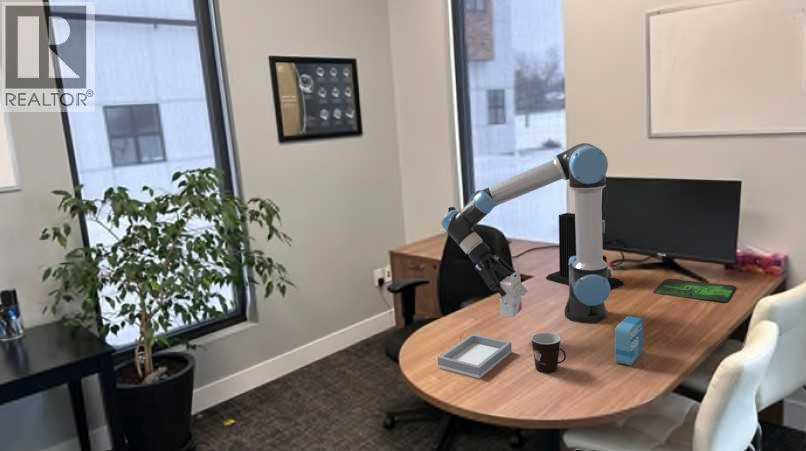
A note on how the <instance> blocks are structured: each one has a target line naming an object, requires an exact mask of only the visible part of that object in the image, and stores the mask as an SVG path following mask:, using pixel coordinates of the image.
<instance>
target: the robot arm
mask: <svg viewBox="0 0 806 451" xmlns="http://www.w3.org/2000/svg"><path fill="white" fill-rule="evenodd" d="M608 167H609V161H608V158H607V156H606V154H605V152H603V150H602V149H600V148H599V147H597V146H595V145H593V144H591V143H586V142H584V143H578V144H576V145H575V146H572V147H571V148H568V149H567V150H565V151H562V152H560V153H558V154H556V155H555V156H554V157H553V158H552V159H551V160H549V161H547V162H545V163H543V164H542V163H541V164H540V165H537V166H536V167H535V166H534V167H533V168H531V169H528V170H526V171H524V172H521V173H519V174H516V175H514V176H512V177H509V178H507V179H504V180H503V181H500V182H498V183H496V184H493V185H491V186H488V187H486V188H484V189H479V190H476V191H474V192H473V193H472V194H471V195H470V197H469V200H468V202H467V203H466V204H465V205H464V206H463V208H461V209H460V210H459V211H457V209H456V210H455V209H452V210H450V211H449V212H448V213H446V214H445V215H444V216H443V217H442V219H441V222H440V224H441V226H442V228H444V230H445V231H446V233H447V234H448V235H449V236H450V237H451V238H452V240H453V241H455V243H456V245H458V246H459V247H460V249H462V251H463V253H465V255H468V258H469V259H470V260H471V262H472V263H474V264H476V265H475V267H474V269H475V271H477V273H478V274H479V275H480V276H481V278H482V279H483V282H484V283H485V284H486V286H487V287H488V290H490V291H492V292H497V293H498V295H499V294H500V295H501V296H502V297H503V298H504V299H505V300H506V301H507V303H508V304H509V305H511V304H512V303H513V302H514V301H515V298H514V297H513V296H512V295H511V294H510V293H509V292H508V290H507V289H506V288H505V287H504V286H503V285H500V281H499V278H498V277H497V275H496V273H495V271H496V272H498V273H499V274H500V275H502V276H503V277H505V278H506V277H508V276H509V277H510V276H511V275H512V274H513V273H514V272H516V271H517V270H515V269H514V268H513V267H511V265H509V263H508V262H506V260H504V259H503V258H502V257H501V256H500V255H499V254H498V253H496V254H495V255H493V254H492V253H490V252H491V248H490V247H489V246H488V245H487V243H486V242H484V241H483V238H482V237H481V236H480V235H479V234H478V233H477V232H476V231H475V230H474V229H473V228H474V227H476V226H477V225H478V224H479V222H481V221H482V220H483V219H484V218H485V217H486V216H487V215H488V214H490V213H491V212H492V210H493V209H494V208H495V207H498V206H499V205H501V204H504V203H507V202H509V201H512V200H514V199H517V198H519V197H522V196H523V195H526V194H529V193H531V192H534V191H535V190H538V189H540V188H543V187H546V186H548V185H551V184H553V183H556V182H557V181H560V180H565V181H568V180H569V181H568V182H569V184H568V185H569V188H570V189H571V190H572V191H573V193H574V214H575V226H576V256H572V257H570V259H569V264H568V265H569V285H568V290H569V291H568V294H569V295H568V298H567V301H566V303H565V307H564V317H565V318H566V319H568V320H570V321H573V322H577V323H582V324H584V323H589V324H592V323H599V322H602V321H604V320H606V319H607V318H608V311H607V310H608V309H607V307H606V305H605V302H606V301H607V299H608V298H609V297H610V295H611V294H610V293H611V290H610V284H609V282H608V269H609V267H608V262H607V263H606V262H605V261H604V260H603V256H604V255H603V254H604V253H603V252H604V251H603V248H604V246H603V233H602V220H603V215H602V214H603V212H602V210H603V209H602V205H603V204H602V191H603V189H604V188H605V187H606V186H607V172H608V169H609V168H608ZM516 276H517V275H515V276H514V277H516ZM528 292H529V290H528V289H527V288H526V287H525V286H524V285H523V284H522V283H521V297H523V296H525V295H526V293H528Z"/></svg>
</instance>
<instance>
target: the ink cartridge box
mask: <svg viewBox="0 0 806 451" xmlns="http://www.w3.org/2000/svg"><path fill="white" fill-rule="evenodd" d="M515 271H516V272H514V273H513V274H512V275H511V276H510V277H509V276H508V277H505V278H503V280H501V281H499V283H500V285H503V286H504V287H505V288H506V289H507V290H508V292H509V293H510V294H511V295H512V296H513V297H514V298H515V301H514V302H513V303H512V304H511V305H509V304H508V303H507V301H506V300H505V299H504V298H503V297H502V296H501V295H500V294H499V293H498V296H499V297H498V298H499V312H500V314H499V315H500V317H506V318H515V316H516V315H517V314H519V313H520V312H521V311H522V309H523V303H522V302H523V301H522V295H521V284H522V282H521V273H520V269H517V270H515ZM515 275H517V276H516V277H514V276H515Z"/></svg>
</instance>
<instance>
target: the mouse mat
mask: <svg viewBox="0 0 806 451" xmlns="http://www.w3.org/2000/svg"><path fill="white" fill-rule="evenodd" d="M736 288H737V287H736V285H733V284H732V285H731V284H722V283H721V284H720V283H712V282H702V281H695V280H694V281H693V280H692V281H691V280H685V279H678V278H666V279H664V280H663V281H662V282H661V283H660V284H659V285H658V286H657V287H656V288H655V289H654V290H653V292H652V293H653V294H657V295H662V296H668V297H670V296H671V297H677V298H685V299H692V300H698V301H699V300H700V301H705V302H706V301H707V302H716V303H722V304H723V303H725V304H726V303H728V302H729V301H730V298H732V295H733V294H734V292H735V290H736Z"/></svg>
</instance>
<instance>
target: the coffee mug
mask: <svg viewBox="0 0 806 451" xmlns="http://www.w3.org/2000/svg"><path fill="white" fill-rule="evenodd" d="M530 338H531V339H530V340H531V345H532V346H531V347H532V353H533V358H534V365H535V370H536V372H539V373H541V374H554V373H556V372H557V371H558V365H559V364H562V363H563V362H564V361H566V359H567V354H566V352H565V350H564V349H562V348H561V346H560V345H561V337H560V335H558V334H556V333H552V332H538V333H535V334H533V335H532V336H530ZM560 352H562V354H563V359H562V360H560V361H559V355H560Z"/></svg>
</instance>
